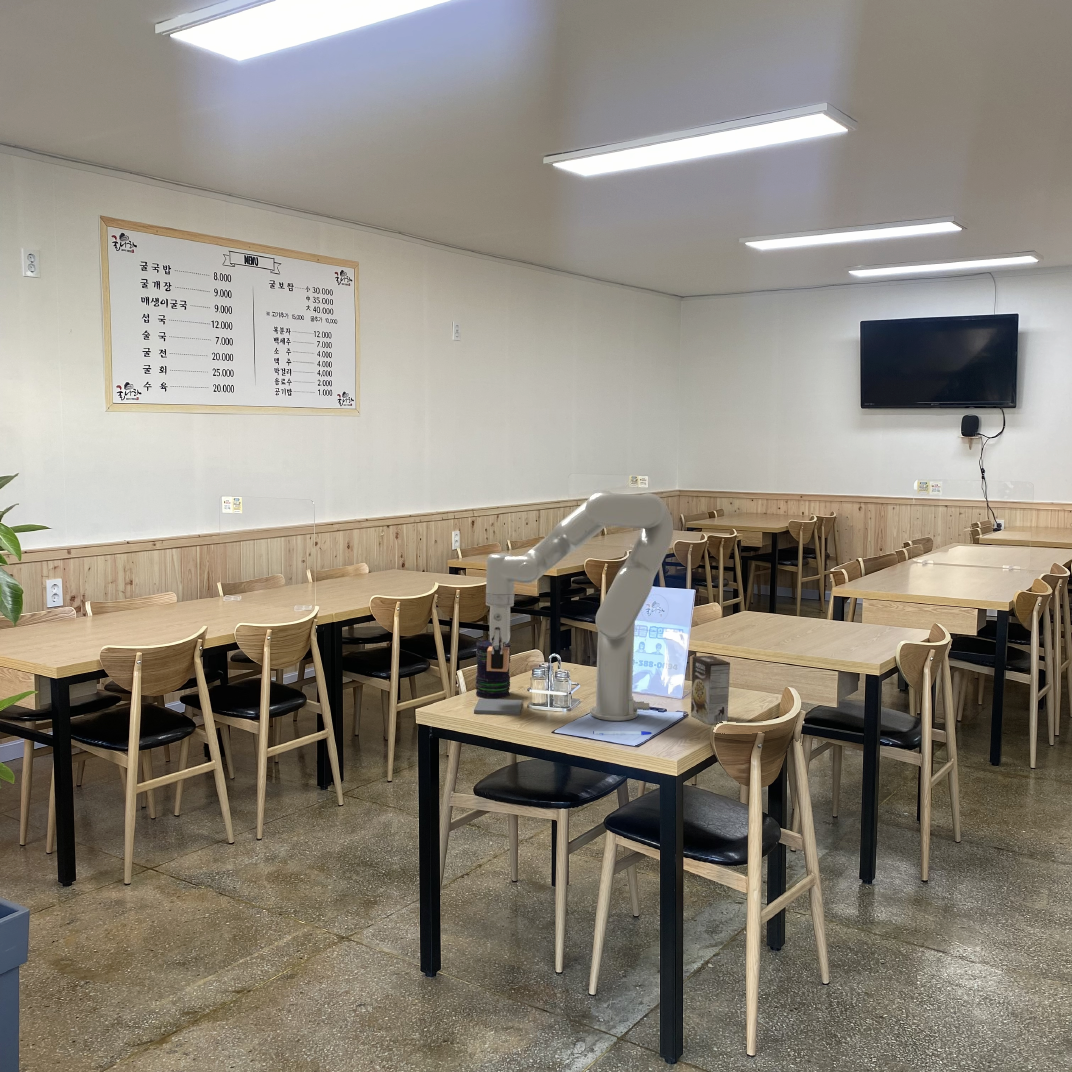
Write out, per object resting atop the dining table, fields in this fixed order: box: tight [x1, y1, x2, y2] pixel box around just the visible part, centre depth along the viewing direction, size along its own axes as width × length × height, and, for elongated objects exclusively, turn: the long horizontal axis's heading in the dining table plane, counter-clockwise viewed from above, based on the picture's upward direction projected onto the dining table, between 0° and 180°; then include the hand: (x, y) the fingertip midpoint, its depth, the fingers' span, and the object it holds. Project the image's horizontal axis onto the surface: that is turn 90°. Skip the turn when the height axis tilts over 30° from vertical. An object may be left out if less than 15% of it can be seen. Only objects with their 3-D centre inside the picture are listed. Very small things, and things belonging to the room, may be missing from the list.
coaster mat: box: [473, 698, 523, 716], centre depth 268 cm, size 12×12×1 cm
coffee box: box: [690, 655, 731, 725], centre depth 261 cm, size 9×6×16 cm
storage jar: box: [475, 639, 512, 699], centre depth 283 cm, size 10×10×15 cm
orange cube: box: [487, 646, 510, 672], centre depth 267 cm, size 6×6×6 cm
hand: (498, 665), depth 267 cm, fingers closed on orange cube, 5 cm apart
